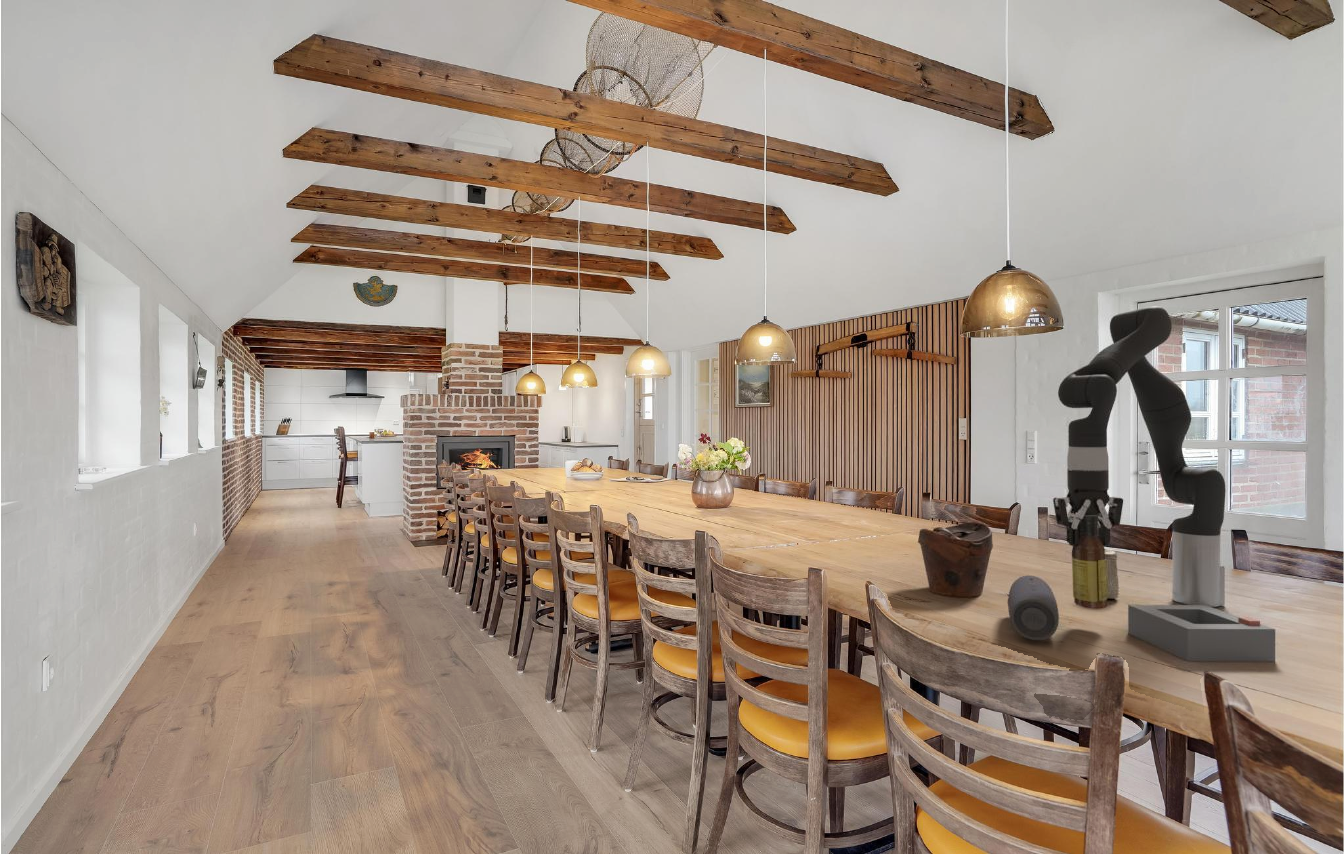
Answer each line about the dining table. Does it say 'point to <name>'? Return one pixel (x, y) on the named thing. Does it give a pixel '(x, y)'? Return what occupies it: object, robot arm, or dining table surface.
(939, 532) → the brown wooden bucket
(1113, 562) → the carving
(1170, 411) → the robot arm
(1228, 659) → the bottle socket block
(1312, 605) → the dining table surface
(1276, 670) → the dining table surface
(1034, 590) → the bluetooth speaker
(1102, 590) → the sauce bottle
